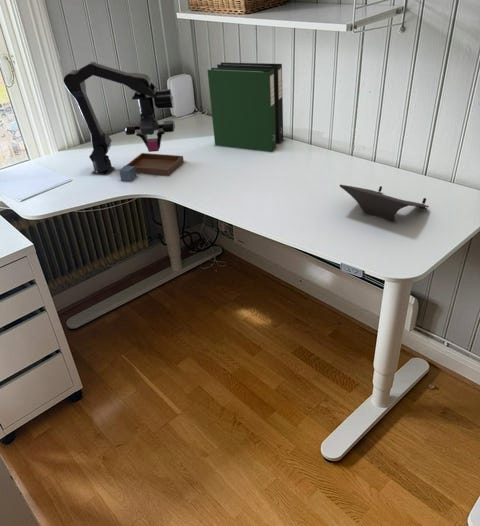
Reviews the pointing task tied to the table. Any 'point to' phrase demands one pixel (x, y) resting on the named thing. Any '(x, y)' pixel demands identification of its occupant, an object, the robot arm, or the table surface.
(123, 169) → the slate block
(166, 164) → the tray
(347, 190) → the laptop tray
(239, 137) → the binder
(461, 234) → the table surface
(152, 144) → the mulberry block
